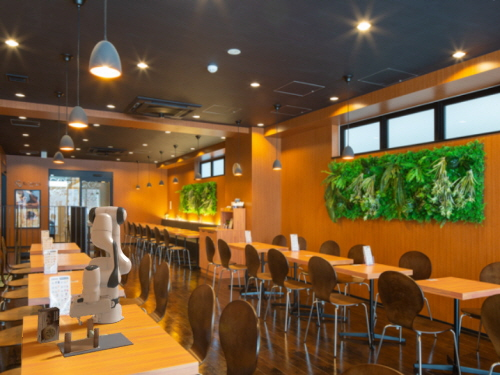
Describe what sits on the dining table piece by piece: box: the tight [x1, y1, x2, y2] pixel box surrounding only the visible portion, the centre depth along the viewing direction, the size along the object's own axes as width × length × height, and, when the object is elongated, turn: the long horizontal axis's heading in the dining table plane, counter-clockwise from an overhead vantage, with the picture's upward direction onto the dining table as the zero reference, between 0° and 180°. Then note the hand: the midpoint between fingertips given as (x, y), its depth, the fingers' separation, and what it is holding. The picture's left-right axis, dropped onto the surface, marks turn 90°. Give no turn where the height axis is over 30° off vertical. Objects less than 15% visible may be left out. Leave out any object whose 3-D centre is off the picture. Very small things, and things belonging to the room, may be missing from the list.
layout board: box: [56, 332, 134, 358], centre depth 196 cm, size 22×32×1 cm
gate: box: [86, 318, 94, 345], centre depth 198 cm, size 3×14×10 cm, turn 34°
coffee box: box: [36, 306, 61, 344], centre depth 203 cm, size 9×6×16 cm
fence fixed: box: [63, 327, 100, 354], centre depth 187 cm, size 3×16×9 cm, turn 125°
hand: (90, 323), depth 203 cm, fingers open, 8 cm apart
